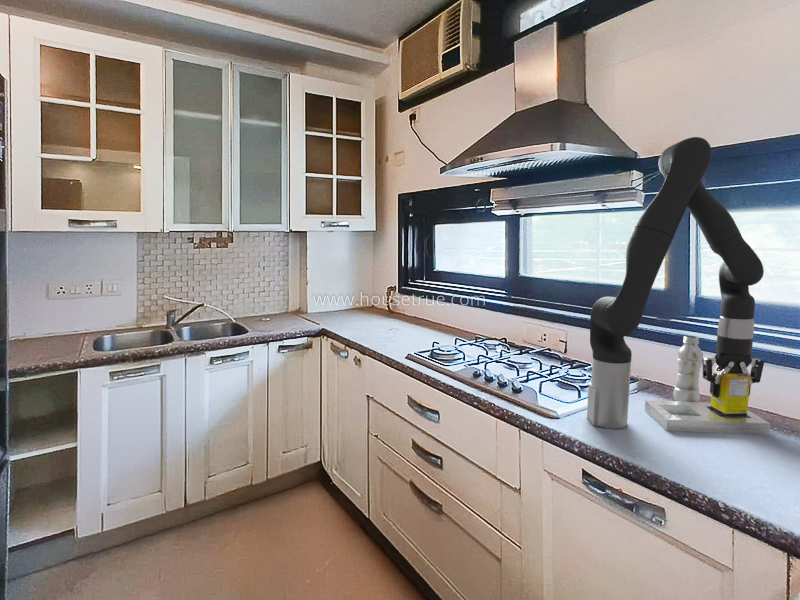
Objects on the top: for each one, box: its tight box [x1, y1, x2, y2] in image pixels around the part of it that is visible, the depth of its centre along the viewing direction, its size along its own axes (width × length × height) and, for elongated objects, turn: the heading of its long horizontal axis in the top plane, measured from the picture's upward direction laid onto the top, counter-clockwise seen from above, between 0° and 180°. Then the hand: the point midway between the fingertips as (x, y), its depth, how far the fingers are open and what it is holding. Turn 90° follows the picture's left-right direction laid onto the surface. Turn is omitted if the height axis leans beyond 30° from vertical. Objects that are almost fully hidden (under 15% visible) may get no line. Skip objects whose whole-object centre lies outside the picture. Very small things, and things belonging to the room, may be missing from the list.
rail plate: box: [644, 399, 771, 436], centre depth 125 cm, size 24×14×3 cm, turn 83°
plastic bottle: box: [672, 335, 704, 402], centre depth 138 cm, size 6×7×20 cm
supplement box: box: [710, 369, 750, 416], centre depth 124 cm, size 6×6×11 cm
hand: (729, 396), depth 124 cm, fingers closed on supplement box, 6 cm apart
